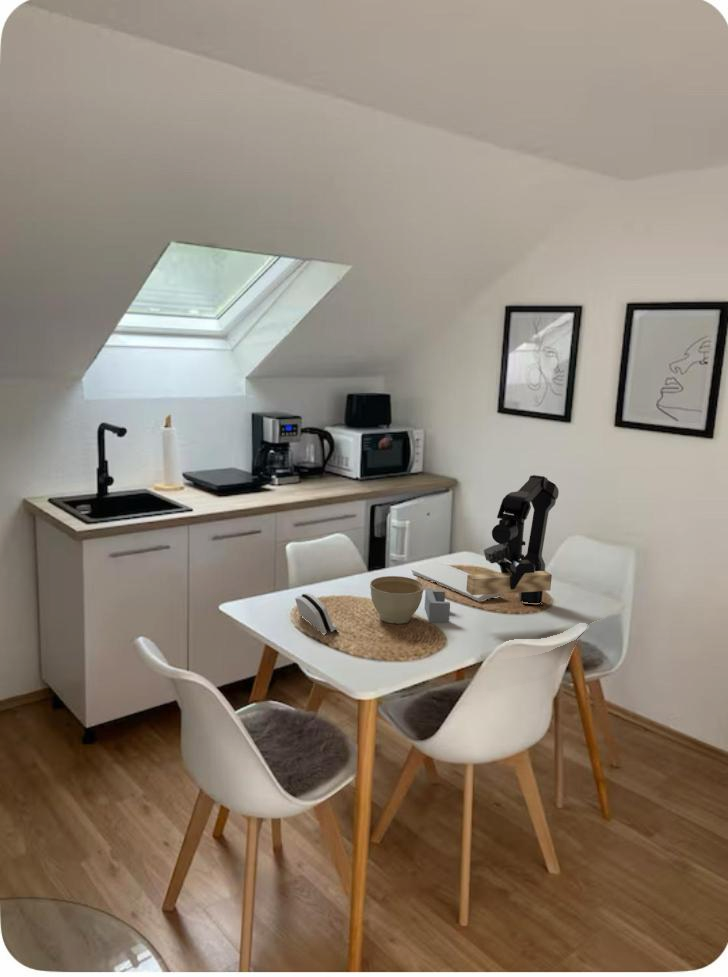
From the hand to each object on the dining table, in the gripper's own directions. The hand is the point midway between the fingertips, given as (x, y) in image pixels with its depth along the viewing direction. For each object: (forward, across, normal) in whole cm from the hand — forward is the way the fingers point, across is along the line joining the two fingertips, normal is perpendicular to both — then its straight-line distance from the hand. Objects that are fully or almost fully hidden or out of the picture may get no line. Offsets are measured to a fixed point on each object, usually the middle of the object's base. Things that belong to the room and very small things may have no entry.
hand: (509, 587), depth 226 cm
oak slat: (+1, 0, 0) cm, 1 cm away
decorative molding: (+12, -35, -2) cm, 37 cm away
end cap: (+11, -9, -19) cm, 24 cm away
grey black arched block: (+11, -8, -58) cm, 59 cm away
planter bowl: (+11, -8, -33) cm, 36 cm away
